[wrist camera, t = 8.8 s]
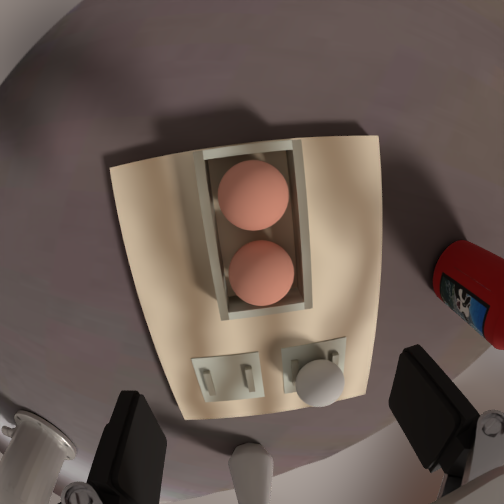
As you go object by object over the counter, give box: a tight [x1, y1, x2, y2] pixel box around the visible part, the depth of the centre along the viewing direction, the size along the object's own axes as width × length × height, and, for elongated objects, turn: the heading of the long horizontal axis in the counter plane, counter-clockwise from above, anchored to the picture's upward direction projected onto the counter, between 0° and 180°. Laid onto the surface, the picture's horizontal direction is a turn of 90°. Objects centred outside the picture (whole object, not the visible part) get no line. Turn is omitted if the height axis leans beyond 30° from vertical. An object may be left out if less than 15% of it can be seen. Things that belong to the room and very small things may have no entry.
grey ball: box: [295, 359, 345, 407], centre depth 23 cm, size 4×4×4 cm
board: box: [110, 136, 382, 420], centre depth 23 cm, size 20×26×4 cm
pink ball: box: [218, 160, 289, 231], centre depth 18 cm, size 4×4×4 cm
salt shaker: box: [228, 443, 273, 504], centre depth 26 cm, size 6×6×13 cm
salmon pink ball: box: [228, 240, 294, 306], centre depth 20 cm, size 4×4×4 cm
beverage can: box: [433, 240, 504, 350], centre depth 19 cm, size 7×7×12 cm
